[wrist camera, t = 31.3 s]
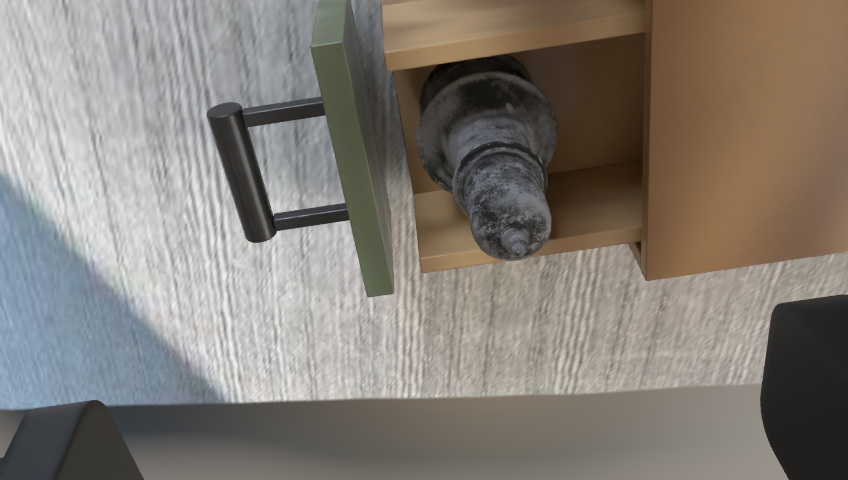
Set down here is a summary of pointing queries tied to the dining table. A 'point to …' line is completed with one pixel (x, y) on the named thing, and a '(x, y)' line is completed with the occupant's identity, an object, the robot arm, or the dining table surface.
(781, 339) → the robot arm
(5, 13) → the dining table surface
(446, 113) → the salt shaker
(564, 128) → the drawer
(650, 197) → the cabinet
